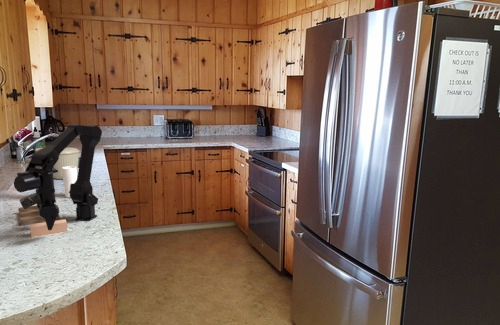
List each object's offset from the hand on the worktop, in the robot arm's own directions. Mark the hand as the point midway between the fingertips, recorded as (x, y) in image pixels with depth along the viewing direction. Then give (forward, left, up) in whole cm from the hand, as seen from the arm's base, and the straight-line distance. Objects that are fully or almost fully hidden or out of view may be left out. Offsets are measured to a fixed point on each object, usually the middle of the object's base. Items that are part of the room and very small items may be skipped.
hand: (48, 226), depth 145 cm
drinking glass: (+22, -48, -3) cm, 53 cm away
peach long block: (0, 0, -3) cm, 3 cm away
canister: (+50, -86, -3) cm, 99 cm away
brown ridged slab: (+16, -16, -2) cm, 23 cm away
